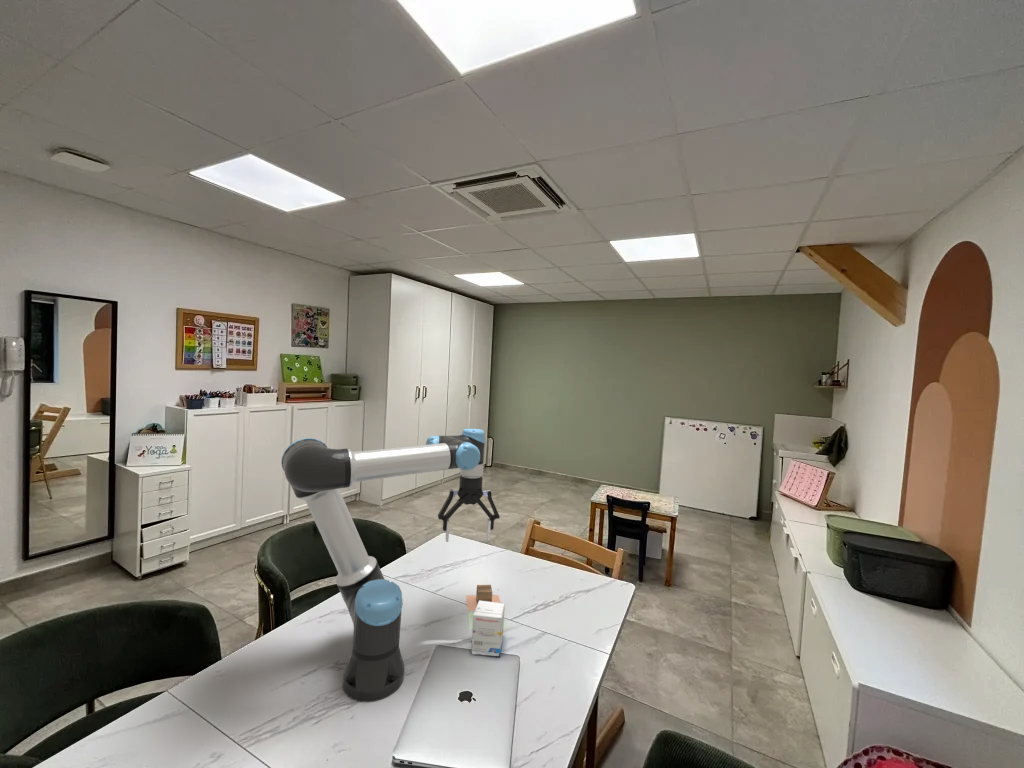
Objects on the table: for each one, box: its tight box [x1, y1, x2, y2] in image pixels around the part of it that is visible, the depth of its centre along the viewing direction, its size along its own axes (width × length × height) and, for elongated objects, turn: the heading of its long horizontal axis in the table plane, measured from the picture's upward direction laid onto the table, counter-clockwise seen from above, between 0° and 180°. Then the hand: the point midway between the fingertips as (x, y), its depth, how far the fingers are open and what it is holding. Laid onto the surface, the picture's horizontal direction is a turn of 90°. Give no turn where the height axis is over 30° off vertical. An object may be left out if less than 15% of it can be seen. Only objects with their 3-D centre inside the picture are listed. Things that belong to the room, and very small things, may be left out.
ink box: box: [471, 600, 506, 655], centre depth 122 cm, size 9×8×12 cm
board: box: [465, 594, 508, 631], centre depth 139 cm, size 22×14×1 cm, turn 10°
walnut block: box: [475, 584, 493, 604], centre depth 144 cm, size 5×5×5 cm
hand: (467, 539), depth 134 cm, fingers open, 13 cm apart
